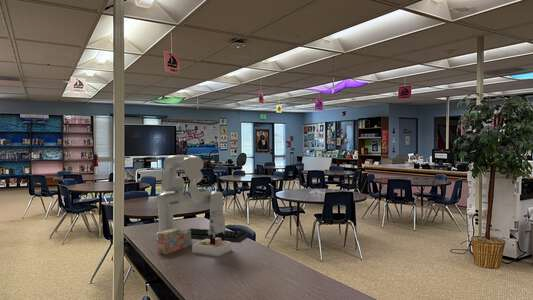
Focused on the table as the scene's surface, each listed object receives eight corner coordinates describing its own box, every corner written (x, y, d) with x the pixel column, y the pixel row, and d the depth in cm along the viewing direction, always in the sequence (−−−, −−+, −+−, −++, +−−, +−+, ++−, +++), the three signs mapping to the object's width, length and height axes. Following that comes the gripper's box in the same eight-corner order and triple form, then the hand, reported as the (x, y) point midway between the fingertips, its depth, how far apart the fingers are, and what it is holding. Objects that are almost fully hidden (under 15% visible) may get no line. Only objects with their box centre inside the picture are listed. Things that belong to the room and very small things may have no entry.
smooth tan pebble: (211, 251, 212) (211, 239, 212) (216, 249, 217) (216, 237, 216) (218, 252, 210) (218, 240, 210) (223, 249, 214) (223, 238, 214)
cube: (200, 249, 216) (200, 241, 216) (205, 247, 220) (205, 239, 220) (207, 250, 214) (207, 242, 213) (212, 248, 218) (212, 240, 218)
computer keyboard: (247, 236, 250) (247, 231, 249) (238, 243, 235) (238, 237, 235) (190, 232, 265) (190, 227, 265) (178, 238, 250) (178, 232, 250)
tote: (192, 252, 213) (192, 244, 213) (206, 246, 226) (206, 238, 225) (217, 256, 205) (217, 247, 205) (231, 250, 217) (231, 241, 217)
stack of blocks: (184, 244, 233) (184, 225, 233) (191, 245, 230) (191, 226, 229) (158, 253, 215) (157, 232, 215) (165, 254, 212) (164, 233, 211)
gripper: (213, 216, 203) (213, 247, 204) (230, 210, 219) (230, 239, 219) (202, 215, 207) (203, 245, 207) (219, 210, 222) (220, 238, 223)
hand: (217, 242), depth 213 cm, fingers open, 8 cm apart
